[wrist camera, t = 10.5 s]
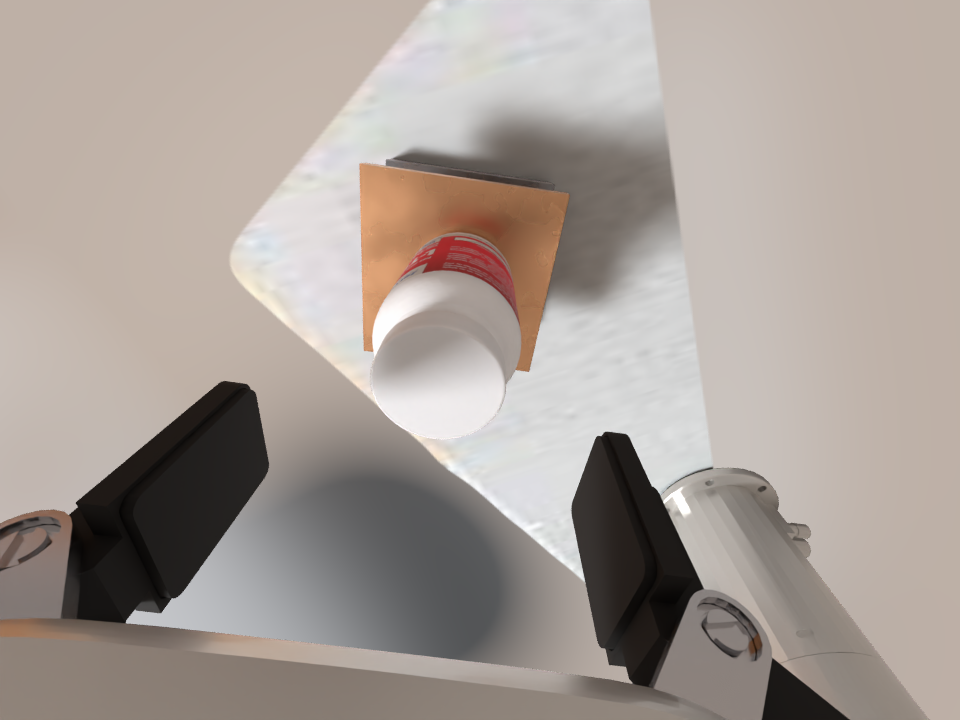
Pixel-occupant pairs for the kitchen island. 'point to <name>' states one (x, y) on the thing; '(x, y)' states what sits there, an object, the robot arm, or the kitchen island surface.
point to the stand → (458, 230)
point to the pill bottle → (447, 339)
